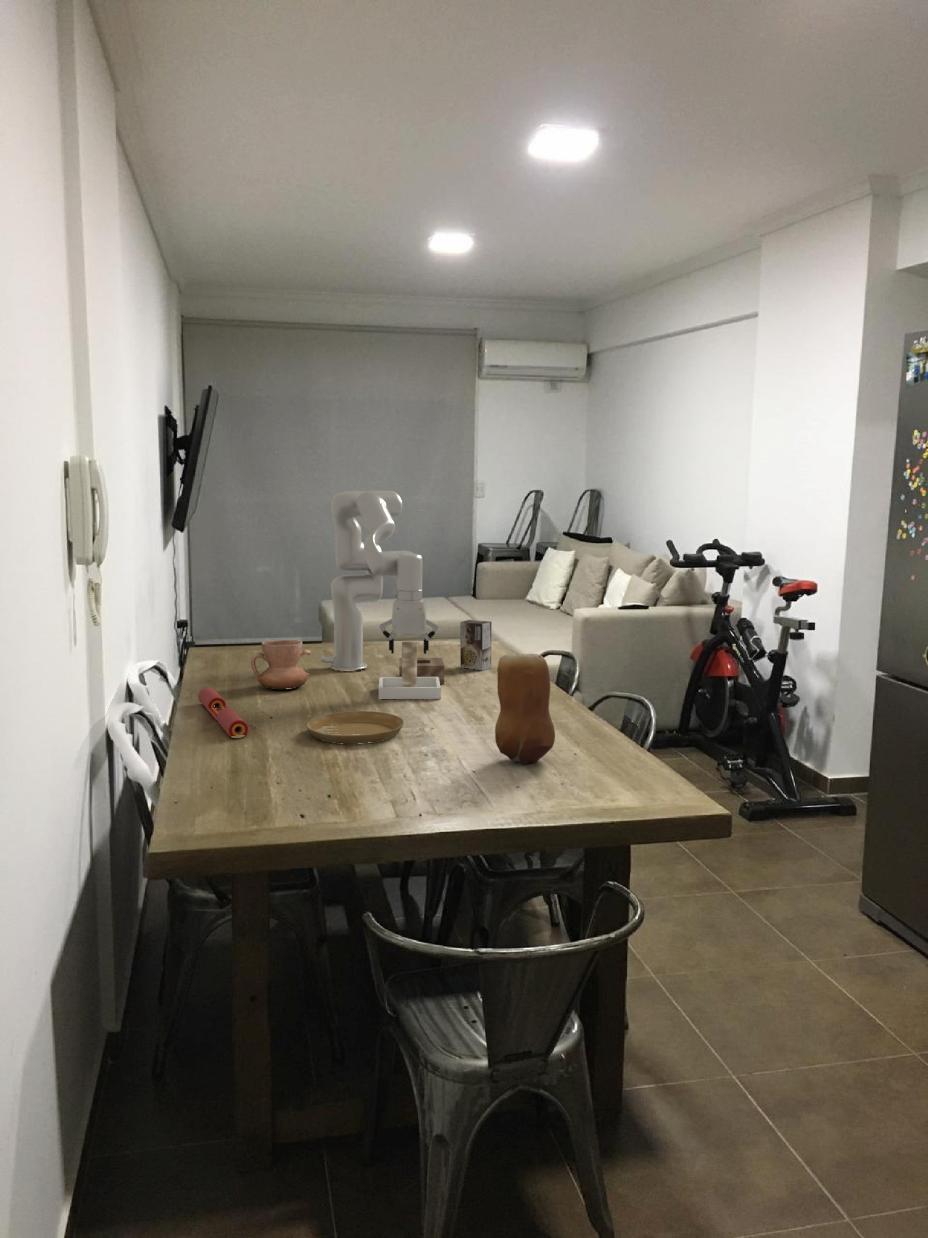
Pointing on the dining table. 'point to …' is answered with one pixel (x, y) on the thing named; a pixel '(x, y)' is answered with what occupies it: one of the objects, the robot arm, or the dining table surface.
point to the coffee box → (475, 644)
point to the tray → (409, 688)
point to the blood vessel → (223, 712)
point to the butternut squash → (524, 708)
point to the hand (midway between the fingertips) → (408, 652)
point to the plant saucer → (356, 726)
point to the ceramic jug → (281, 664)
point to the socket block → (428, 668)
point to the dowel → (409, 664)
